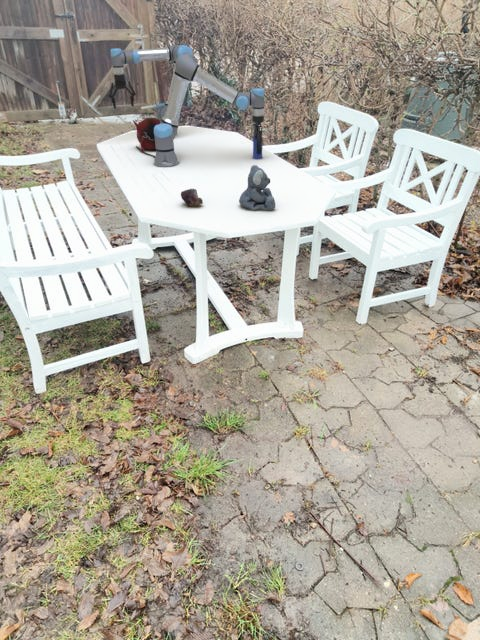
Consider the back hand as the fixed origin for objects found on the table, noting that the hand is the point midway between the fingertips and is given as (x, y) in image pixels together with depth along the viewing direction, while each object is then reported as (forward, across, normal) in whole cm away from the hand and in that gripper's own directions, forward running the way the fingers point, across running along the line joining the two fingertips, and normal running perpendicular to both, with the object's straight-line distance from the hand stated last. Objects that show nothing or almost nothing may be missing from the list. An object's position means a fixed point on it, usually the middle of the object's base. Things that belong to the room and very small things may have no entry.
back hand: (123, 107), depth 328 cm
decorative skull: (+25, +9, -26) cm, 37 cm away
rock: (+25, -24, -145) cm, 149 cm away
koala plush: (+25, +2, -165) cm, 167 cm away
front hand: (+22, +56, -91) cm, 109 cm away
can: (+25, +56, -91) cm, 110 cm away
